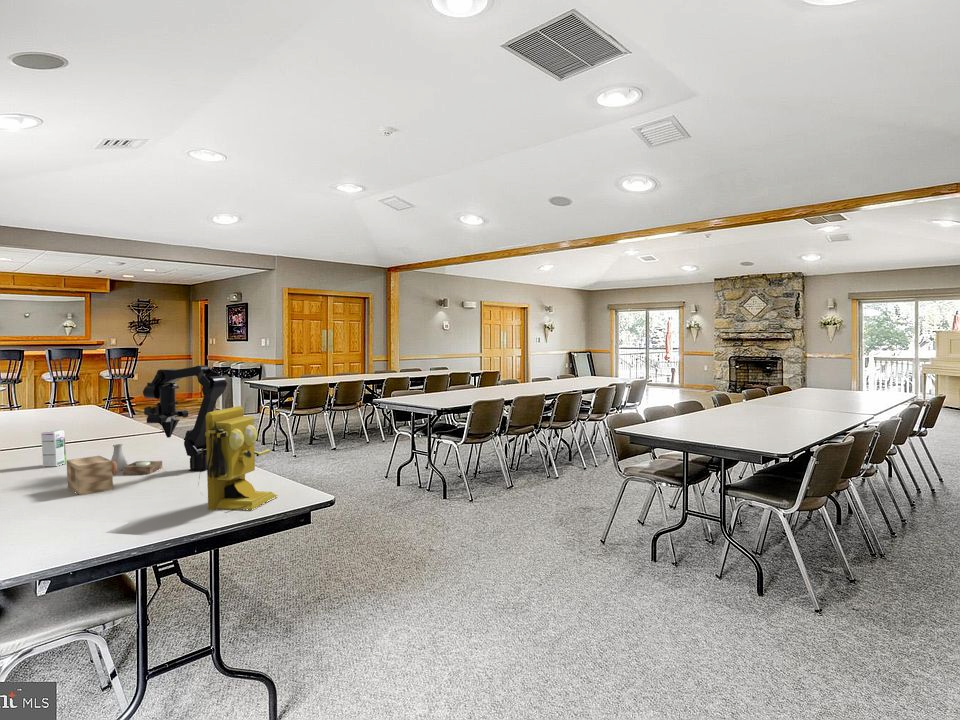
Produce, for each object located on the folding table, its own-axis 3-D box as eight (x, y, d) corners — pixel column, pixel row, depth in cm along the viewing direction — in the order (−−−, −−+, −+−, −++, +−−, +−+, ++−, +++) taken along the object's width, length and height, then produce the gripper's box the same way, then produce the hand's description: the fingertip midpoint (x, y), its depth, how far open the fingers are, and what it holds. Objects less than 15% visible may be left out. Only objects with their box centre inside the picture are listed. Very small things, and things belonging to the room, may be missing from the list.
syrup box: (56, 466, 238) (55, 432, 238) (42, 467, 238) (40, 432, 238) (66, 463, 244) (65, 429, 243) (52, 463, 244) (51, 429, 243)
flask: (133, 467, 237) (132, 443, 236) (120, 471, 230) (119, 446, 229) (116, 466, 238) (115, 442, 237) (103, 471, 230) (102, 446, 230)
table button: (152, 468, 232) (152, 461, 232) (146, 471, 227) (146, 464, 227) (140, 469, 232) (139, 461, 231) (133, 472, 227) (133, 464, 226)
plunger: (113, 473, 211) (112, 460, 211) (117, 475, 208) (117, 462, 207) (86, 477, 205) (86, 464, 204) (90, 479, 201) (90, 466, 201)
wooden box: (100, 482, 212) (99, 455, 211) (113, 489, 203) (112, 460, 202) (67, 488, 204) (66, 460, 204) (79, 495, 195) (78, 465, 195)
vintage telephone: (233, 520, 167) (230, 417, 166) (190, 518, 170) (187, 416, 168) (288, 491, 198) (286, 404, 197) (251, 490, 200) (249, 404, 199)
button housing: (162, 468, 235) (162, 460, 234) (150, 474, 225) (149, 466, 224) (136, 468, 234) (136, 461, 234) (123, 474, 224) (123, 466, 224)
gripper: (164, 397, 247) (165, 433, 247) (133, 402, 228) (134, 441, 229) (188, 397, 245) (189, 433, 246) (159, 402, 227) (160, 441, 228)
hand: (168, 437), depth 237 cm, fingers closed
